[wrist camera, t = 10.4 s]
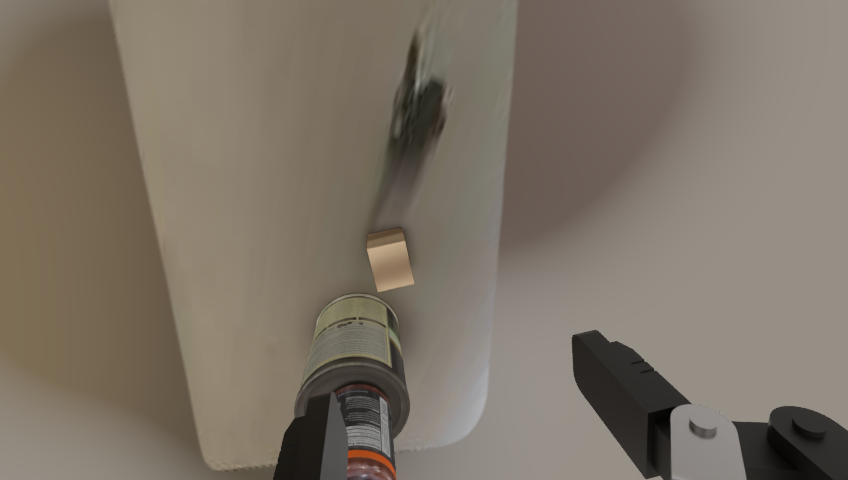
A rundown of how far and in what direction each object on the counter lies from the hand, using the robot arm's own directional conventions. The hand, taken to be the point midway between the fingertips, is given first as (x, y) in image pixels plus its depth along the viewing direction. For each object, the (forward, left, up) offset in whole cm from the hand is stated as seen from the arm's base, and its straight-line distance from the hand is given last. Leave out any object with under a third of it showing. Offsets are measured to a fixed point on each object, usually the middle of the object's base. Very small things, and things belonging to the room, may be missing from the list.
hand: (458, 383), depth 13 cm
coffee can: (+16, -8, -33) cm, 37 cm away
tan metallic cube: (+7, -2, -33) cm, 33 cm away
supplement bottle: (+16, -8, -19) cm, 26 cm away
